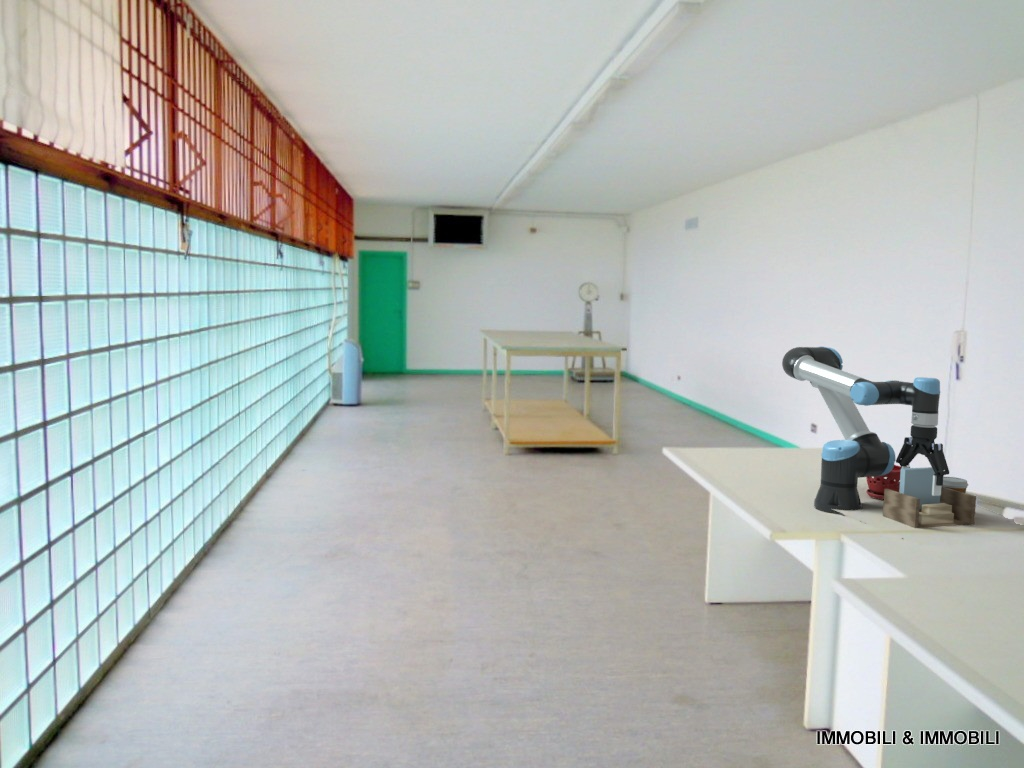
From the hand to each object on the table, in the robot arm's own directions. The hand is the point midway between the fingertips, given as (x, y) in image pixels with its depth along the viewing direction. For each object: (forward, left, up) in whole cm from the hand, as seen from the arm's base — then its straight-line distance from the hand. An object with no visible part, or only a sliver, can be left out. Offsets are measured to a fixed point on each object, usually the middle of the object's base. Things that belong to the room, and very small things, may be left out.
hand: (920, 490), depth 245 cm
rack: (+4, 0, -10) cm, 11 cm away
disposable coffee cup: (-6, +18, -10) cm, 22 cm away
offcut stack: (+6, 0, -9) cm, 11 cm away
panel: (0, 0, -9) cm, 9 cm away
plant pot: (-30, +12, -10) cm, 34 cm away
